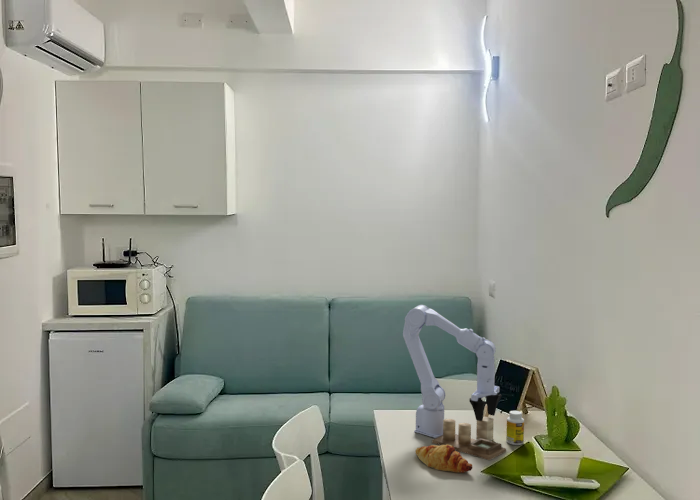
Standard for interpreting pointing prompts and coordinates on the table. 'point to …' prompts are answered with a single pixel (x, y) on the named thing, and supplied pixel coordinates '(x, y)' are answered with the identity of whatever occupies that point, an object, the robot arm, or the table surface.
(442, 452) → the croissant
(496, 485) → the table surface
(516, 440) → the supplement bottle
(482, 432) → the maple block
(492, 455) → the walnut rail
